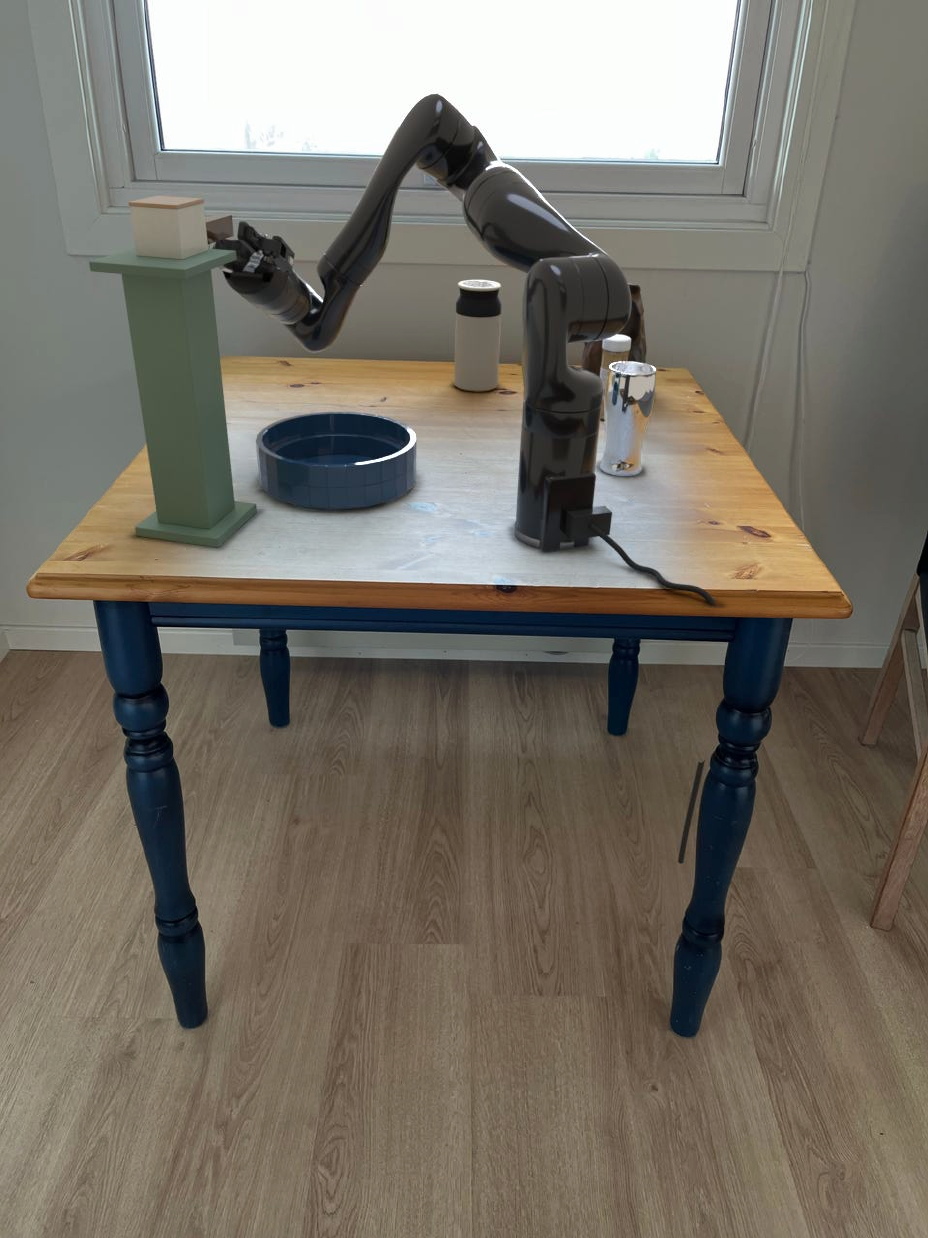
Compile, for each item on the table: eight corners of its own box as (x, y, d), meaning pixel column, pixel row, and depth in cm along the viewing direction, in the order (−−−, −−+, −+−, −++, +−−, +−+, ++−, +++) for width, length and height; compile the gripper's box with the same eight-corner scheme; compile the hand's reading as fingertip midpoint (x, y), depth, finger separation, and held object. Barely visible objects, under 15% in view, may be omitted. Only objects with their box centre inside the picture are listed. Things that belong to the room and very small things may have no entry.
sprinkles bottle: (627, 418, 160) (637, 338, 153) (607, 423, 158) (616, 341, 151) (609, 411, 163) (618, 331, 156) (589, 415, 161) (597, 334, 154)
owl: (638, 406, 166) (653, 287, 156) (567, 398, 168) (577, 281, 158) (646, 386, 176) (660, 274, 166) (579, 379, 179) (589, 268, 169)
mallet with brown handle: (206, 233, 116) (201, 185, 114) (248, 237, 115) (244, 188, 113) (135, 255, 103) (128, 201, 100) (182, 259, 102) (176, 205, 99)
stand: (182, 500, 126) (148, 243, 109) (258, 510, 124) (236, 250, 107) (133, 537, 116) (88, 261, 99) (216, 549, 113) (184, 269, 97)
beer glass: (616, 456, 144) (627, 358, 137) (653, 469, 140) (668, 368, 132) (587, 467, 140) (597, 366, 132) (625, 481, 136) (638, 377, 128)
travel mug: (474, 395, 169) (477, 290, 160) (445, 384, 174) (447, 282, 165) (506, 387, 173) (511, 285, 164) (477, 377, 178) (481, 277, 169)
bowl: (435, 503, 127) (436, 457, 124) (273, 521, 121) (270, 473, 118) (392, 448, 145) (392, 406, 141) (249, 461, 138) (245, 418, 135)
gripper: (218, 245, 128) (156, 191, 112) (317, 253, 126) (268, 198, 110) (210, 300, 128) (148, 254, 113) (309, 309, 126) (259, 262, 110)
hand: (207, 226), depth 111 cm, fingers open, 8 cm apart
